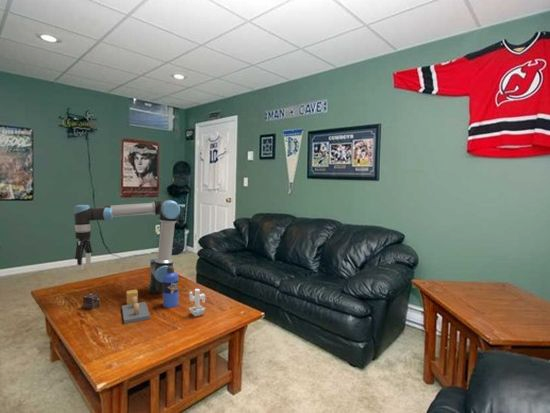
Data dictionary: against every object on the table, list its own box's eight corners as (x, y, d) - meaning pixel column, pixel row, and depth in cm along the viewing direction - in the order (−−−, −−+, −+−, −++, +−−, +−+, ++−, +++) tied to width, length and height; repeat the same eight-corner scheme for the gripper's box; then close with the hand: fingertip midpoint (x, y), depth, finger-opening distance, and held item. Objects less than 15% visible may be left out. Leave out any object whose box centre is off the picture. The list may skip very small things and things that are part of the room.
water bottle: (181, 304, 190) (181, 265, 188) (167, 309, 184) (167, 268, 182) (173, 300, 197) (173, 262, 195) (160, 304, 190) (159, 265, 188)
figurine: (207, 314, 178) (207, 289, 176) (192, 318, 172) (192, 292, 170) (202, 310, 183) (202, 286, 182) (187, 314, 177) (187, 289, 176)
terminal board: (145, 304, 189) (145, 292, 189) (150, 319, 170) (149, 305, 170) (122, 308, 183) (121, 295, 182) (124, 323, 164) (123, 309, 163)
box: (91, 309, 181) (91, 297, 180) (83, 308, 182) (82, 296, 181) (99, 305, 187) (99, 294, 186) (91, 304, 188) (90, 293, 187)
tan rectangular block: (137, 301, 194) (136, 289, 194) (138, 304, 189) (137, 292, 188) (126, 303, 191) (126, 290, 191) (127, 306, 186) (127, 293, 186)
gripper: (83, 228, 189) (84, 261, 191) (67, 235, 165) (68, 273, 167) (96, 227, 191) (98, 260, 193) (82, 234, 167) (84, 272, 169)
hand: (84, 266), depth 180 cm, fingers open, 13 cm apart
